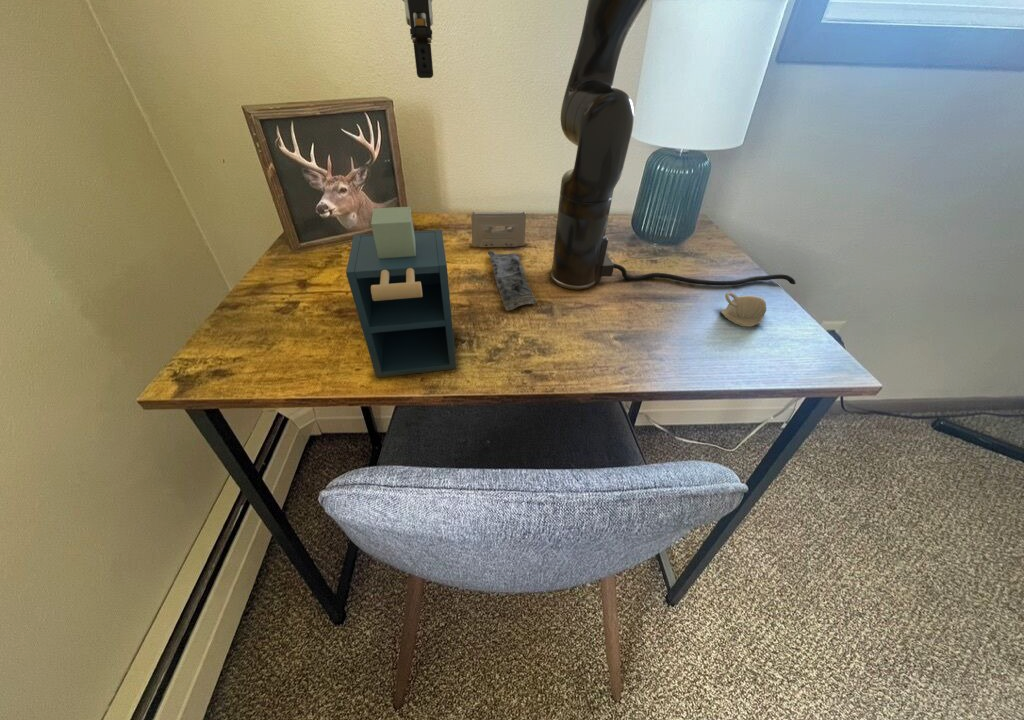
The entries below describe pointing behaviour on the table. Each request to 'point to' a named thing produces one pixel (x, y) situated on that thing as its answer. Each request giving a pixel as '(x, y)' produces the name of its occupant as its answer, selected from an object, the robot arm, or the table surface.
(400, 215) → the block
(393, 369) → the shelf
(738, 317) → the decorative ornament
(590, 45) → the robot arm
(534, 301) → the grey cloth
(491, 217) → the cassette
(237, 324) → the table surface
